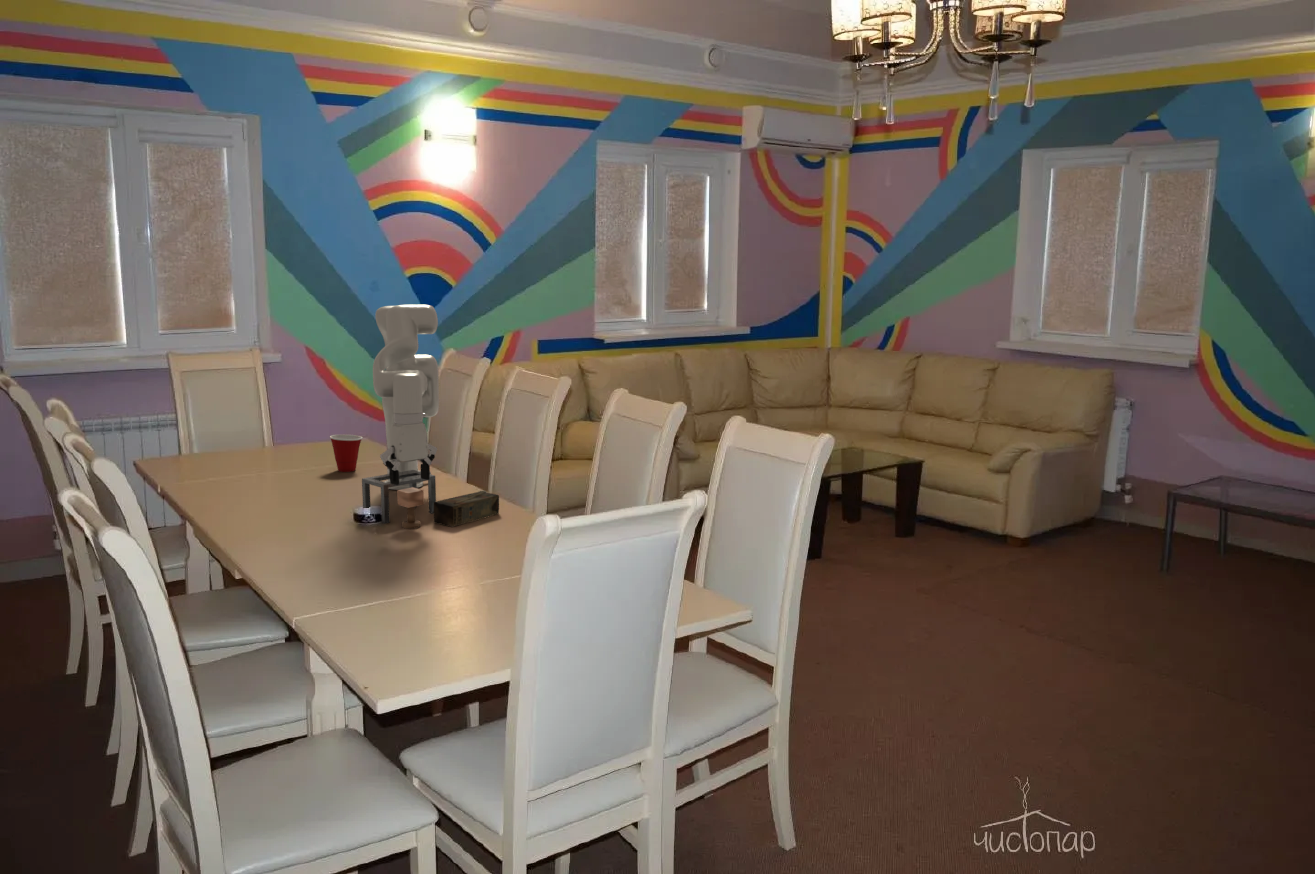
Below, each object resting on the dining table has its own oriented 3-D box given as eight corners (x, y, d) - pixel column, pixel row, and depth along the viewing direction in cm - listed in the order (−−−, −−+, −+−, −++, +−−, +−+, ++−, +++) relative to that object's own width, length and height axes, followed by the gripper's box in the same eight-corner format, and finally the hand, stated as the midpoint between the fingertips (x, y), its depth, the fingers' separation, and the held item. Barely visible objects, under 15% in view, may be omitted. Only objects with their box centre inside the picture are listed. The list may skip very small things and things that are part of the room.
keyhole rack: (414, 506, 299) (413, 469, 297) (436, 512, 292) (435, 475, 290) (363, 516, 287) (361, 478, 285) (384, 523, 280) (383, 484, 278)
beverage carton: (500, 514, 292) (500, 492, 291) (452, 528, 277) (451, 505, 276) (480, 510, 297) (480, 488, 296) (432, 524, 281) (431, 500, 280)
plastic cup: (368, 471, 346) (367, 436, 344) (337, 474, 339) (336, 439, 337) (356, 465, 354) (355, 431, 352) (326, 469, 348) (324, 434, 345)
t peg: (413, 523, 281) (412, 487, 279) (424, 526, 277) (423, 490, 276) (398, 526, 277) (397, 490, 275) (408, 530, 274) (407, 493, 272)
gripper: (427, 414, 281) (428, 475, 283) (372, 420, 268) (374, 484, 271) (443, 417, 276) (444, 479, 278) (388, 423, 263) (390, 488, 266)
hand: (410, 481), depth 274 cm, fingers open, 9 cm apart
